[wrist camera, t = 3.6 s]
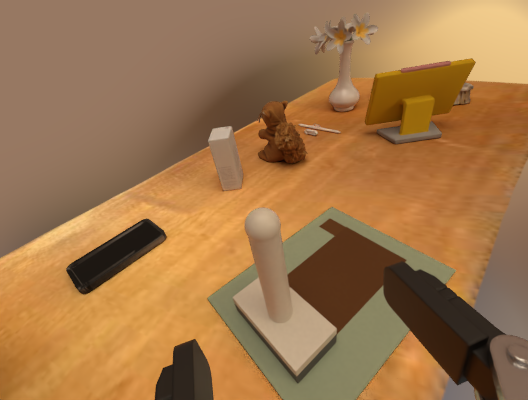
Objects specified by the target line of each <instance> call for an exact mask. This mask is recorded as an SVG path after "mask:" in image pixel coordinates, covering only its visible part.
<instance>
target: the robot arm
mask: <svg viewBox="0 0 528 400" xmlns="http://www.w3.org/2000/svg"><path fill="white" fill-rule="evenodd" d="M383 293H384V297H385V299H386V301H387V303H388V305H389V306H390V307H391V308H392V310H393V311H394V312H395V313H396V314H397V315H398V317H399V318H400V319H401V320H402V321H403V322H404V324H405V325H406V326H407V327H408V328H409V329H410V331H411V332H412V333H413V334H414V335H415V336H416V338H417V339H418V340H419V341H420V342H421V343H422V345H423V346H424V347H425V348H426V349H427V350H428V352H429V353H430V354H431V355H432V356H433V357H434V359H435V360H436V361H437V362H438V363H439V364H440V366H441V367H442V368H443V369H444V370H445V371H446V373H447V374H448V375H449V376H450V377H451V378H452V380H453V381H454V382H455V383H456V384H457V385H459V384H461V383H463V382H466V381H469V383H470V384H471V385H472V386H473V387H474V392H475V398H476V400H528V341H527V340H525V339H523V338H520V337H517V336H513V335H506V334H505V333H503V332H501V331H500V330H499V329H497V328H496V327H495V326H494V325H493V324H491V323H490V322H489V321H488V320H487V319H485V318H484V317H483V316H482V315H481V314H479V313H478V312H477V311H476V310H475V309H473V308H472V307H471V306H470V305H469V304H467V303H466V302H465V301H464V300H463V299H462V298H460V297H458V296H457V295H456V293H454V292H453V291H452V290H451V289H450V288H447V286H446V285H445V284H444V283H442V282H441V281H440V280H439V279H438V278H436V277H435V276H434V275H431V274H429V273H427V272H425V271H423V270H421V269H419V270H417V271H415V270H414V269H412V268H411V267H410V266H409V265H408V264H407V263H405V262H403V261H401V262H398V263H395V264H393V265H390V266H387V267H385V268H384V282H383ZM155 400H213V388H212V377H211V371H210V367H209V364H208V361H207V359H206V357H205V355H204V354H203V352H202V350H201V348H200V347H199V345H198V343H197V341H196V340H195V339H193V340H191V341H188V342H185V343H183V344H180V345H177V346H175V347H174V351H173V364H172V365H170V366H167V367H165V368H163V370H162V372H161V375H160V377H159V379H158V382H157V384H156V392H155Z"/></svg>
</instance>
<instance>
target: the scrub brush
mask: <svg viewBox="0 0 528 400" xmlns="http://www.w3.org/2000/svg"><path fill="white" fill-rule="evenodd" d="M280 227H281V224H280V219H279V217H278V216H277V214H276V213H275V212H274V211H272V210H271V209H268V208H257V209H255V210H253V211H251V212H250V213H249V214H248V216H247V218H246V220H245V231H246V234H247V235H248V238H249V242H250V246H251V250H252V254H253V257H254V261H255V265H256V269H257V273H258V278H257V279H256V280H254V281H253V282H252V283H250V284H249V285H248V286H247V287H245V288H244V289H243V290H241V291H240V292H239V293H237V294H236V295H235V296H234V297H232V298H233V300H234V303H235V306H236V308H237V311H238V312H239V313H240V314H241V316H242V317H243V318H244V319H245V321H246V322H247V323H248V324H249V325H250V327H251V328H252V329H253V330H254V331H255V333H256V334H257V335H258V336H259V337H260V339H261V340H262V341H263V342H264V343H265V345H266V346H267V347H268V348H269V350H270V351H271V352H272V353H273V354H274V356H275V357H276V358H277V359H278V360H279V362H280V363H281V364H282V365H283V366H284V368H285V369H286V370H287V371H288V372H289V374H290V375H291V376H292V377H293V379H294V380H295V381H296V382H297V383H299V382H300V381H301V380H302V379H303V378H304V377H305V376H306V375H307V374H308V372H309V371H310V370H311V369H312V368H313V367H314V366H315V365H316V364H317V363H318V362H319V361H320V359H321V358H322V357H323V356H324V355H325V354H326V353H327V352H328V351H329V350H330V349H331V348H332V346H333V345H334V344H335V343H336V339H337V328H336V327H334V326H333V325H332V324H331V323H330V322H329V321H328V320H327V319H325V318H324V317H323V316H322V315H321V314H320V313H319V312H318V311H316V310H315V309H314V308H313V307H312V306H311V305H310V304H309V303H307V302H306V301H305V300H304V299H303V298H302V297H301V296H299V295H298V294H297V293H296V292H295V291H294V290H293V289H292V288H290V287H289V283H288V277H287V270H286V264H285V257H284V251H283V244H282V238H281V231H280Z"/></svg>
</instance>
